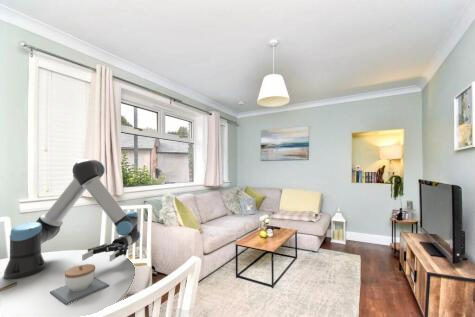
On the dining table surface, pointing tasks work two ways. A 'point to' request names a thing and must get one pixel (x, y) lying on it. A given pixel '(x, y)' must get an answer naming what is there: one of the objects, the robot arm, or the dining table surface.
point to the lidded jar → (80, 277)
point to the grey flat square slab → (70, 296)
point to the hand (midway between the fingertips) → (96, 258)
